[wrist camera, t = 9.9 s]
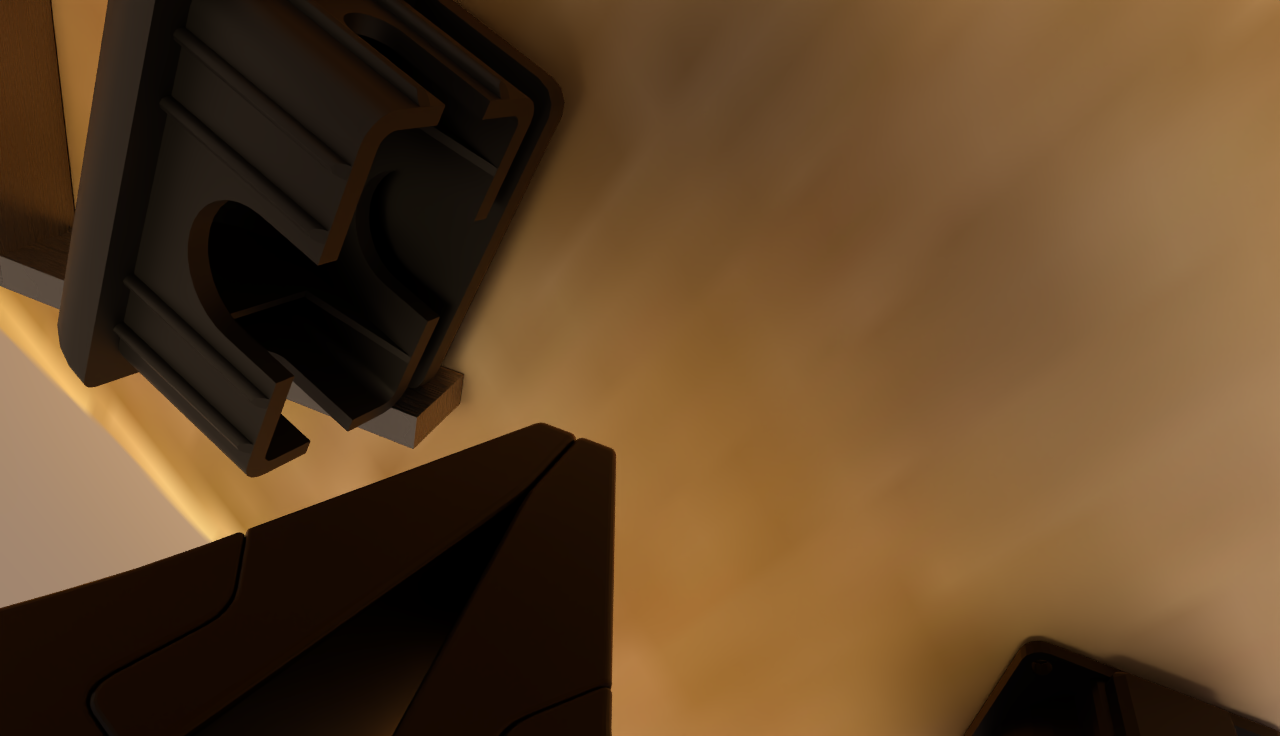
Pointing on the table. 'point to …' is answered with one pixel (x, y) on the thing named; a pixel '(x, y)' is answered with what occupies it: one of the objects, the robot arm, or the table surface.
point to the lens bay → (44, 213)
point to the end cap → (292, 204)
